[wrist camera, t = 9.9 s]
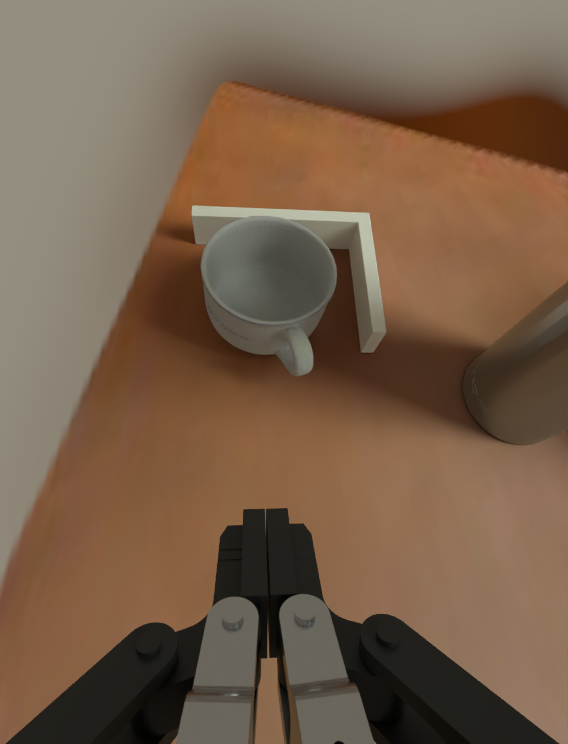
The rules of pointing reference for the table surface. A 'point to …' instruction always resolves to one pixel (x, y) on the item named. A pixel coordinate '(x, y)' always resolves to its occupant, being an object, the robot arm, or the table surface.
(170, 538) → the table surface
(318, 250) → the teacup
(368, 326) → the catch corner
